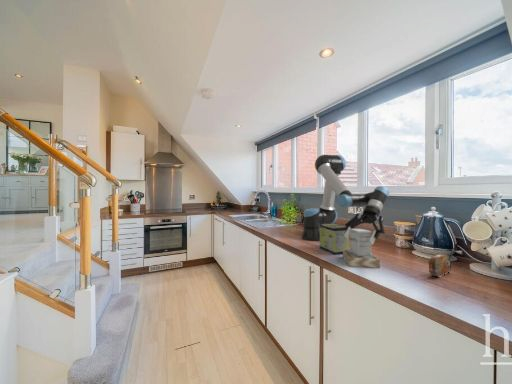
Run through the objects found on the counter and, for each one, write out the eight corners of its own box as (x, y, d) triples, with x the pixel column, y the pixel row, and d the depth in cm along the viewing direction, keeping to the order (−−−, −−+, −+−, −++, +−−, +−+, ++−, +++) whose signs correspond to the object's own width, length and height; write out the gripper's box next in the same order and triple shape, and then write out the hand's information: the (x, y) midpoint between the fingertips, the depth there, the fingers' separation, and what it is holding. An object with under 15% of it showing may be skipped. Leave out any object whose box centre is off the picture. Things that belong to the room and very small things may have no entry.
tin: (436, 279, 86) (436, 259, 85) (427, 276, 88) (427, 257, 88) (452, 272, 92) (452, 253, 92) (443, 270, 95) (443, 252, 95)
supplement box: (349, 251, 110) (349, 228, 110) (362, 251, 110) (362, 228, 110) (357, 256, 102) (357, 231, 102) (371, 255, 103) (371, 230, 103)
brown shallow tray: (348, 265, 101) (348, 257, 101) (342, 256, 115) (342, 249, 115) (379, 267, 98) (379, 259, 98) (370, 258, 112) (370, 250, 112)
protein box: (332, 246, 136) (332, 223, 136) (349, 253, 121) (349, 227, 121) (319, 247, 133) (319, 224, 133) (335, 255, 118) (334, 228, 118)
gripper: (400, 216, 104) (386, 250, 96) (354, 212, 125) (339, 239, 117) (395, 206, 101) (380, 240, 93) (349, 203, 122) (333, 231, 114)
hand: (357, 240), depth 105 cm, fingers open, 13 cm apart
